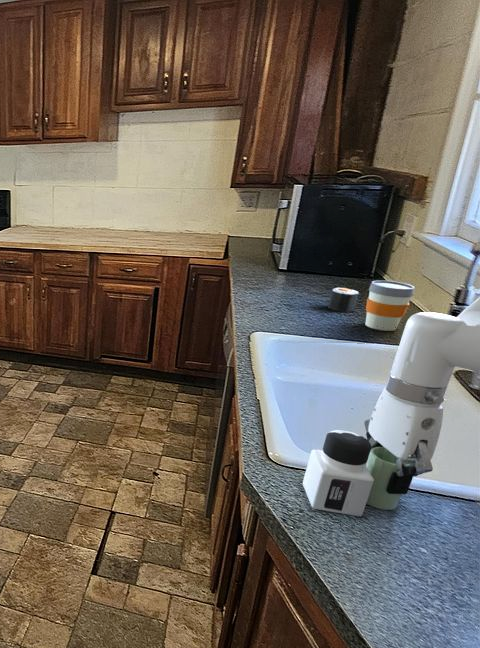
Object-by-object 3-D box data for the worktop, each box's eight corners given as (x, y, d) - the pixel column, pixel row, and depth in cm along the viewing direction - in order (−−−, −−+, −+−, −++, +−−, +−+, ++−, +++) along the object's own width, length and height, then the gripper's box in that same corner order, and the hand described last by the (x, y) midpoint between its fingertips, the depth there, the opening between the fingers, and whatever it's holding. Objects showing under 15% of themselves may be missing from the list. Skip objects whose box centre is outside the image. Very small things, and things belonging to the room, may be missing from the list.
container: (362, 518, 89) (384, 452, 84) (311, 509, 91) (330, 444, 86) (348, 491, 96) (368, 429, 91) (301, 483, 98) (318, 422, 93)
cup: (383, 489, 97) (397, 447, 93) (405, 510, 91) (421, 466, 88) (350, 488, 97) (363, 446, 94) (370, 509, 91) (385, 465, 88)
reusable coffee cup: (357, 319, 193) (369, 278, 187) (399, 324, 187) (412, 283, 182) (361, 328, 183) (373, 286, 177) (404, 334, 177) (418, 291, 171)
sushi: (344, 313, 199) (349, 292, 196) (323, 307, 206) (328, 287, 203) (358, 310, 202) (363, 290, 199) (337, 305, 209) (342, 285, 206)
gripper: (481, 414, 78) (441, 513, 85) (402, 368, 94) (373, 454, 101) (430, 413, 78) (394, 512, 85) (359, 367, 94) (333, 453, 101)
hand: (383, 480), depth 93 cm, fingers closed on cup, 6 cm apart
